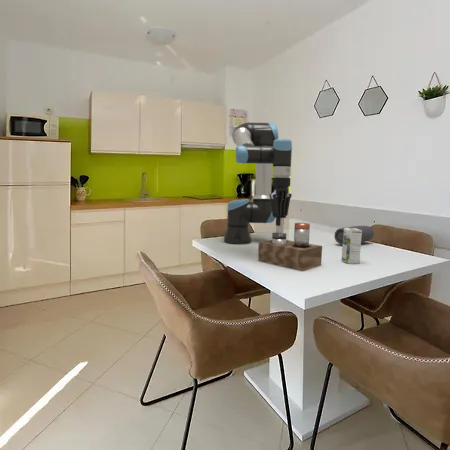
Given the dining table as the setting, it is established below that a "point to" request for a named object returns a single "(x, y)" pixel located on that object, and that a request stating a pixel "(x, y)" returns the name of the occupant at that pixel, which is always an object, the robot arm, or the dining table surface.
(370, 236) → the bluetooth speaker
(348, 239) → the syrup box
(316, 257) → the wooden jar holder
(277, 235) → the grey lid glass jar
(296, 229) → the red lid glass jar
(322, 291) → the dining table surface
